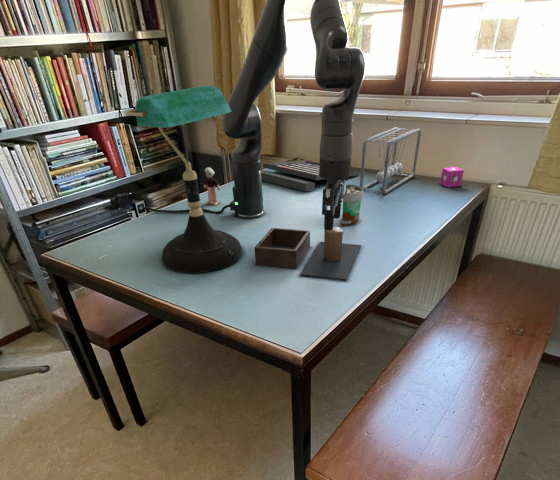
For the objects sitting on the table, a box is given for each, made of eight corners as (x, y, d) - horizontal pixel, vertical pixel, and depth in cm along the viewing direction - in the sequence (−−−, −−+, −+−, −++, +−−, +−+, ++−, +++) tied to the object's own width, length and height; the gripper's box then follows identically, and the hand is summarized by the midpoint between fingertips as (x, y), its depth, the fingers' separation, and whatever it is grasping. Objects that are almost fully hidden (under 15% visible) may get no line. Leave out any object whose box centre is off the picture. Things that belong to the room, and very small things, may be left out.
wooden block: (323, 256, 116) (324, 228, 111) (336, 254, 117) (338, 226, 112) (327, 262, 113) (328, 233, 108) (341, 260, 114) (343, 231, 109)
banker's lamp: (203, 283, 108) (172, 98, 83) (141, 265, 118) (95, 96, 93) (261, 246, 125) (249, 84, 100) (202, 233, 135) (178, 83, 110)
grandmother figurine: (202, 204, 158) (196, 168, 150) (207, 201, 160) (202, 165, 152) (220, 206, 155) (215, 169, 147) (225, 203, 158) (220, 166, 150)
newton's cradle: (391, 173, 181) (397, 125, 169) (414, 176, 176) (422, 127, 164) (358, 191, 162) (362, 140, 151) (383, 195, 157) (389, 142, 146)
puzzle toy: (447, 187, 162) (450, 171, 158) (439, 183, 166) (442, 168, 162) (460, 185, 163) (464, 170, 159) (452, 182, 167) (455, 166, 163)
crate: (255, 264, 115) (254, 247, 112) (272, 244, 126) (271, 227, 123) (296, 268, 112) (295, 251, 109) (310, 247, 123) (310, 230, 120)
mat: (300, 275, 109) (300, 274, 109) (320, 243, 125) (320, 241, 125) (346, 280, 106) (346, 279, 105) (360, 246, 122) (360, 245, 122)
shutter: (304, 176, 201) (254, 181, 183) (305, 160, 198) (254, 163, 179) (357, 185, 182) (307, 191, 163) (359, 167, 178) (308, 171, 160)
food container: (360, 228, 133) (363, 195, 126) (341, 227, 134) (343, 195, 128) (362, 215, 142) (365, 183, 136) (344, 214, 143) (346, 183, 137)
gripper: (327, 147, 105) (324, 213, 115) (312, 161, 94) (311, 232, 105) (356, 148, 103) (351, 215, 113) (345, 163, 92) (340, 235, 103)
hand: (332, 223), depth 109 cm, fingers open, 8 cm apart
